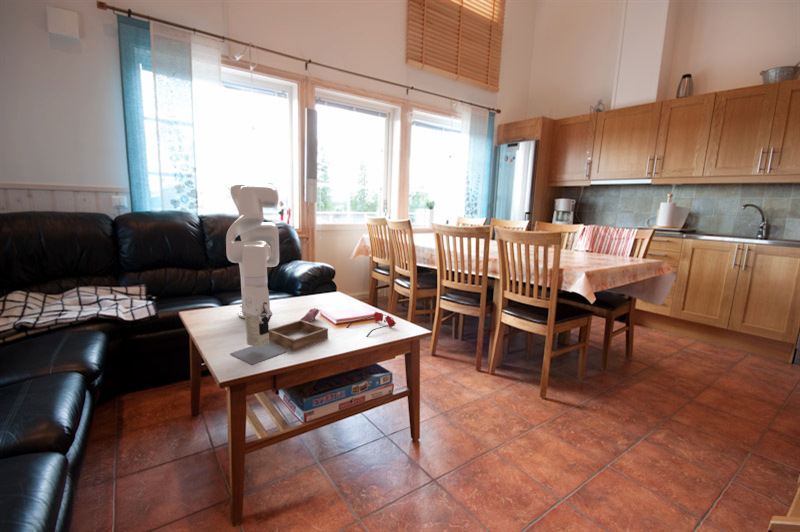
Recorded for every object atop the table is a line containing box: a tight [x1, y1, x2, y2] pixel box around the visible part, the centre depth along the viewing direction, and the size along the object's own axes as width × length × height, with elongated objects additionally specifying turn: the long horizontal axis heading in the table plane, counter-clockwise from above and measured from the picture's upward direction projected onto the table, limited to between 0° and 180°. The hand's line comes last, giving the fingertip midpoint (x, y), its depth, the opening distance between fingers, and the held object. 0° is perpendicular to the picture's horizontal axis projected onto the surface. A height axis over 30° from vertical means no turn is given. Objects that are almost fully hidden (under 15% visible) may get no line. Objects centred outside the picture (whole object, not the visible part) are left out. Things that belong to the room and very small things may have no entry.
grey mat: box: [230, 343, 286, 366], centre depth 126 cm, size 13×13×1 cm
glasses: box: [346, 311, 397, 338], centre depth 155 cm, size 14×16×5 cm
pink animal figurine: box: [299, 307, 320, 323], centre depth 160 cm, size 10×5×7 cm, turn 169°
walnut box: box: [269, 319, 329, 352], centre depth 140 cm, size 16×16×4 cm
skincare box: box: [244, 311, 270, 347], centre depth 125 cm, size 6×4×12 cm
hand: (257, 330), depth 125 cm, fingers closed on skincare box, 7 cm apart
